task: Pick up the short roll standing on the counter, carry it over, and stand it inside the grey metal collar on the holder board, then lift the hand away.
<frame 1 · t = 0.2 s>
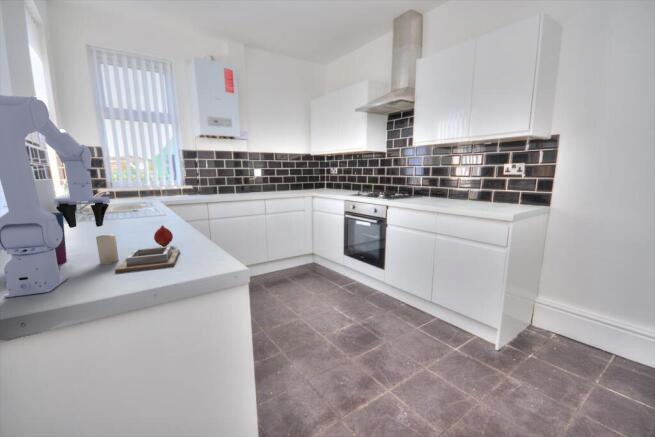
hand: (86, 226, 92), 10 cm above the countertop, tool pointing down, fingers open, 7 cm apart
red round fruit: (164, 247, 105), on the countertop
roll: (109, 261, 88), on the countertop
cylindrical container: (50, 257, 94), on the countertop
holder: (151, 261, 88), on the countertop
cup: (55, 263, 88), on the countertop
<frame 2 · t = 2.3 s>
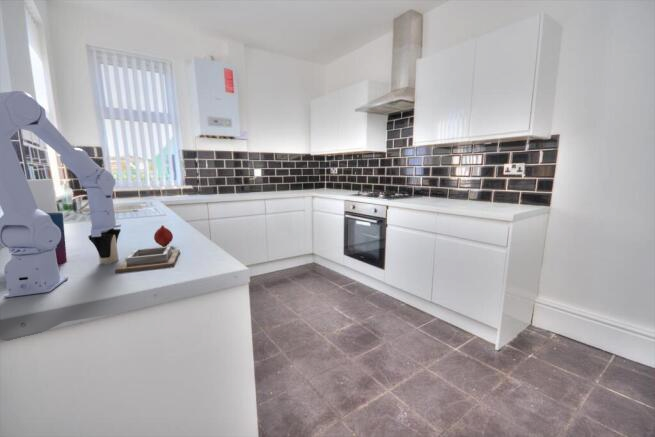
hand: (108, 255, 88), 2 cm above the countertop, tool pointing down, fingers closed on roll, 5 cm apart
roll: (109, 261, 88), on the countertop, touching gripper
everything else where it was.
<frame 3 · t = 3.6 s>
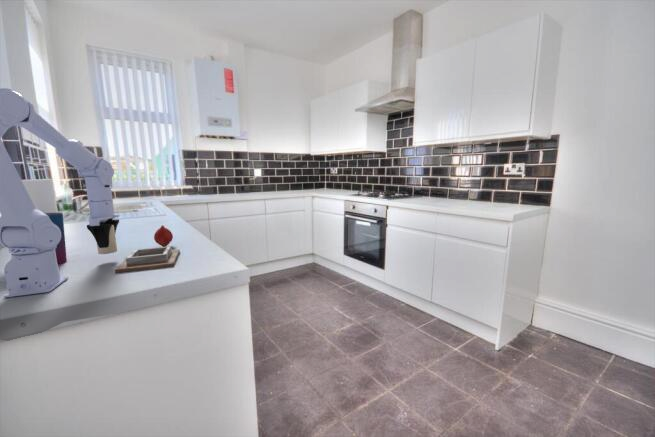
hand: (106, 245, 87), 5 cm above the countertop, tool pointing down, fingers closed on roll, 5 cm apart
roll: (107, 252, 88), point 3 cm above the countertop, touching gripper
everything else where it was.
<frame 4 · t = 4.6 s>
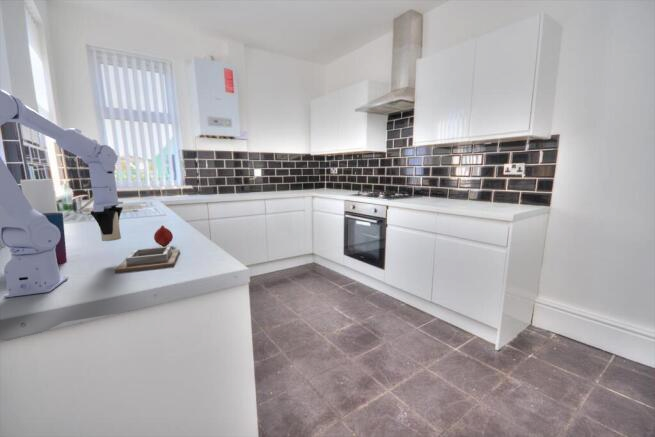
hand: (110, 232, 87), 9 cm above the countertop, tool pointing down, fingers closed on roll, 5 cm apart
roll: (111, 239, 87), point 7 cm above the countertop, touching gripper
everything else where it was.
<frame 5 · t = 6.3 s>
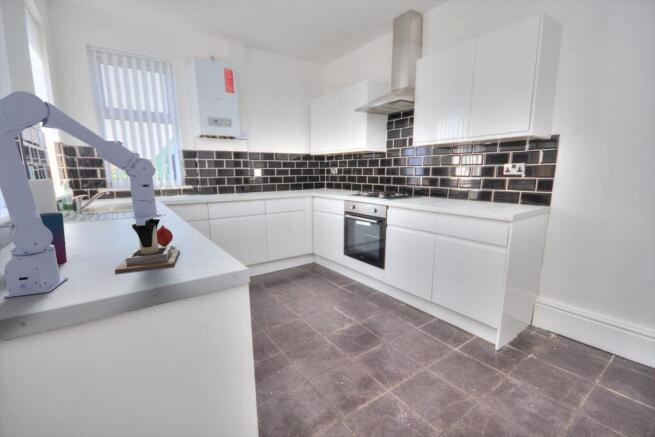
hand: (149, 245, 87), 5 cm above the countertop, tool pointing down, fingers closed on roll, 5 cm apart
roll: (149, 251, 87), point 3 cm above the countertop, touching gripper
everything else where it was.
when the fingers open (4 cm above the countertop, at t = 7.3 s): roll drops 1 cm, resting on holder.
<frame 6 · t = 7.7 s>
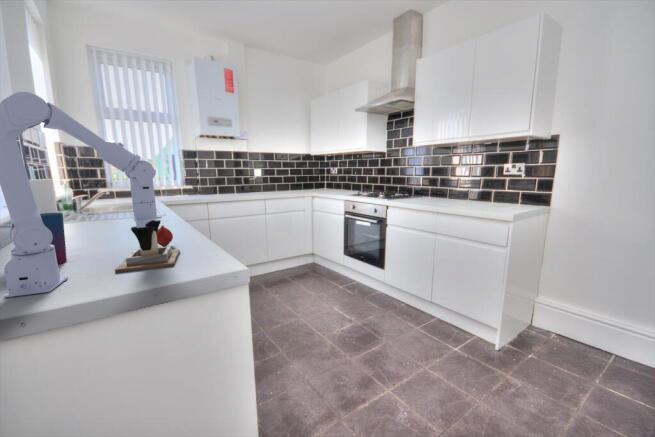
hand: (149, 247, 87), 5 cm above the countertop, tool pointing down, fingers open, 7 cm apart
roll: (150, 258, 88), point 1 cm above the countertop, touching holder
everything else where it was.
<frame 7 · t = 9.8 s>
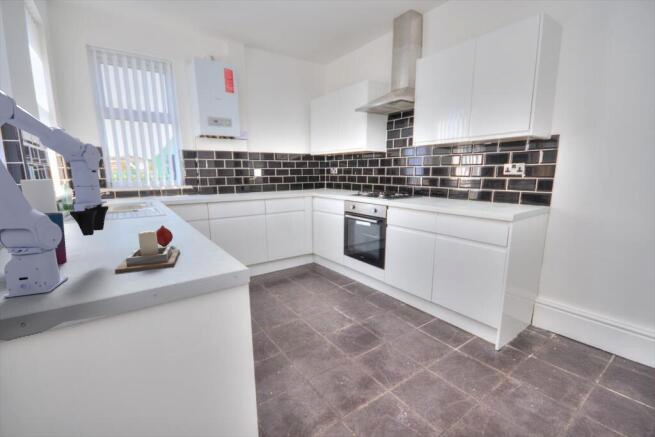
hand: (93, 232, 85), 9 cm above the countertop, tool pointing down, fingers open, 7 cm apart
nothing on the countertop moved.
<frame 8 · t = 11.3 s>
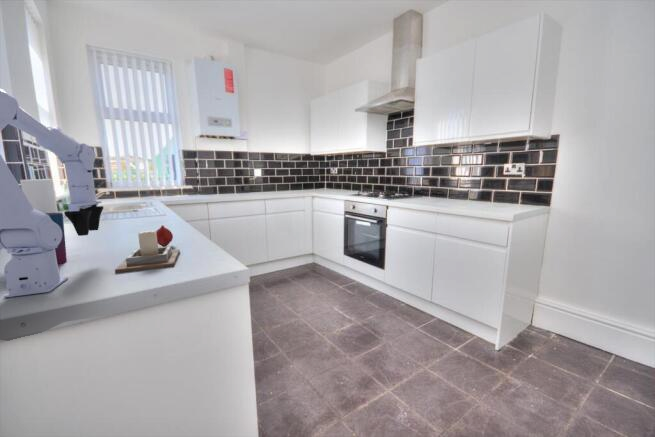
hand: (88, 232, 85), 9 cm above the countertop, tool pointing down, fingers open, 7 cm apart
nothing on the countertop moved.
at the end: roll 0.0 cm off-centre on the holder, point 1.0 cm above the holder's base; roll tilted 1°; the gripper is holding nothing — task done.
